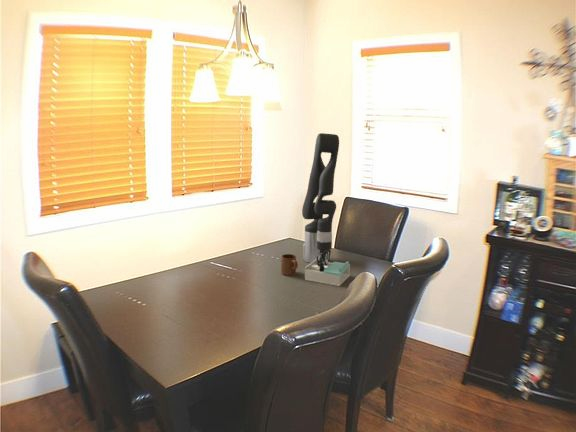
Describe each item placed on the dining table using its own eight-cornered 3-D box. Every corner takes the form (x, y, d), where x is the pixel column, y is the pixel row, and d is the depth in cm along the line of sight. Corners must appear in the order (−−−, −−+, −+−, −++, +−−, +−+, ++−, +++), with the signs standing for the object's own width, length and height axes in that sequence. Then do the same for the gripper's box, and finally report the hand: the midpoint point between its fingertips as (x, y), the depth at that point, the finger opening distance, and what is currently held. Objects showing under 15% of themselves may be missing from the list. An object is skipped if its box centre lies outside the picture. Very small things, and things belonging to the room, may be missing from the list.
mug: (303, 277, 226) (303, 259, 224) (290, 280, 222) (290, 262, 220) (291, 270, 236) (291, 253, 234) (278, 272, 232) (278, 255, 230)
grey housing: (304, 279, 223) (304, 267, 221) (316, 270, 236) (316, 258, 235) (339, 286, 215) (339, 273, 214) (349, 275, 228) (350, 263, 227)
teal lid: (323, 272, 217) (323, 267, 217) (334, 263, 231) (334, 258, 230) (339, 275, 214) (339, 269, 213) (349, 265, 227) (350, 260, 226)
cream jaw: (319, 274, 225) (319, 266, 224) (321, 272, 228) (322, 264, 227) (325, 275, 224) (326, 268, 223) (328, 273, 227) (328, 266, 226)
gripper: (322, 235, 230) (321, 266, 234) (311, 242, 217) (311, 275, 221) (336, 236, 226) (335, 268, 231) (326, 244, 214) (325, 277, 218)
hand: (323, 271), depth 226 cm, fingers closed on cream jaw, 3 cm apart
